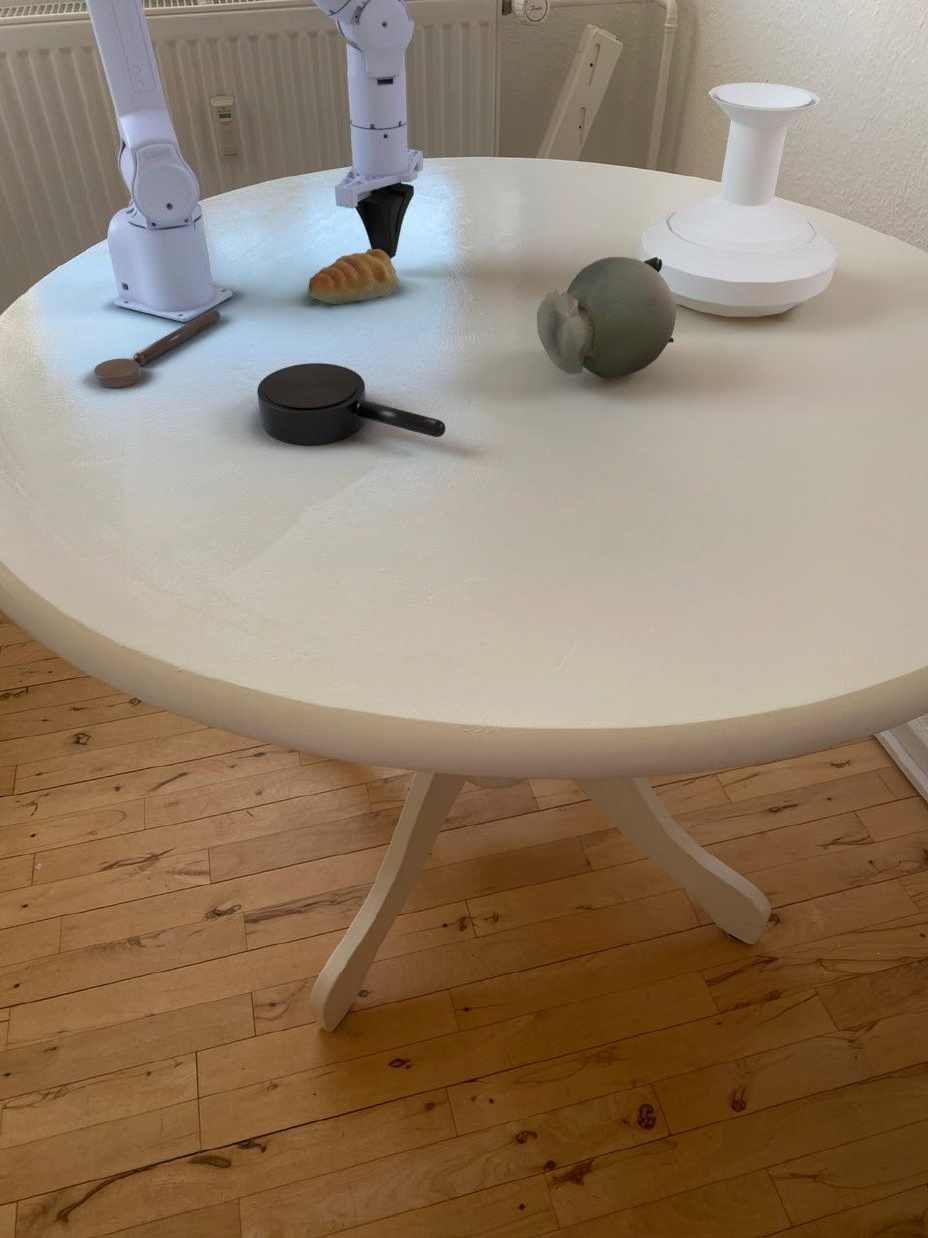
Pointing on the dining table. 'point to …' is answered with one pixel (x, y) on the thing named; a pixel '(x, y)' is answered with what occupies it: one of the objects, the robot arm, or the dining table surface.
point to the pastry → (355, 278)
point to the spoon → (148, 354)
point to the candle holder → (745, 219)
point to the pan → (326, 406)
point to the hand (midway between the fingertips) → (384, 256)
